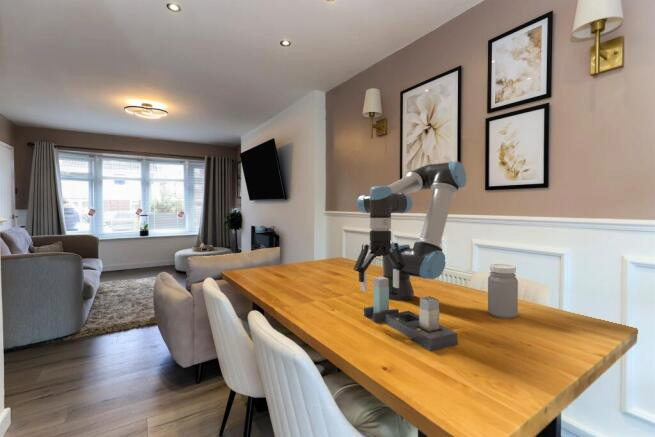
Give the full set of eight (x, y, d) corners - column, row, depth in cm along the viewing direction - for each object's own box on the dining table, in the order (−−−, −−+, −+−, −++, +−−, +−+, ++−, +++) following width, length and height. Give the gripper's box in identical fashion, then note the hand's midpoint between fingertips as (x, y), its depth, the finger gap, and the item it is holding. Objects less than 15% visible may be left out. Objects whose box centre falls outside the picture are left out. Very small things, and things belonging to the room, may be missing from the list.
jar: (520, 314, 117) (521, 265, 116) (514, 321, 110) (514, 269, 109) (492, 308, 124) (492, 262, 123) (483, 315, 117) (484, 266, 116)
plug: (382, 314, 117) (382, 276, 117) (388, 317, 113) (388, 278, 113) (373, 315, 115) (373, 277, 115) (379, 319, 112) (379, 279, 111)
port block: (408, 320, 112) (408, 285, 112) (457, 344, 92) (457, 301, 92) (384, 325, 108) (384, 288, 108) (430, 351, 88) (430, 306, 87)
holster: (386, 313, 120) (386, 303, 120) (399, 319, 113) (399, 309, 113) (363, 317, 116) (363, 307, 116) (375, 324, 109) (375, 313, 109)
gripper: (354, 231, 105) (354, 295, 105) (415, 229, 115) (415, 288, 116) (344, 230, 112) (344, 290, 112) (402, 228, 122) (402, 283, 122)
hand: (380, 289), depth 114 cm, fingers open, 13 cm apart
